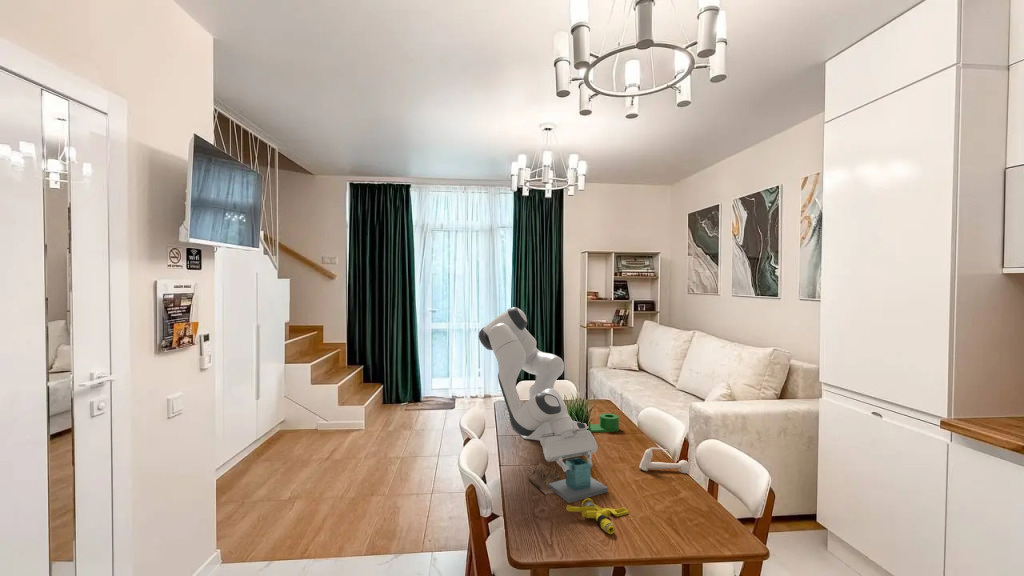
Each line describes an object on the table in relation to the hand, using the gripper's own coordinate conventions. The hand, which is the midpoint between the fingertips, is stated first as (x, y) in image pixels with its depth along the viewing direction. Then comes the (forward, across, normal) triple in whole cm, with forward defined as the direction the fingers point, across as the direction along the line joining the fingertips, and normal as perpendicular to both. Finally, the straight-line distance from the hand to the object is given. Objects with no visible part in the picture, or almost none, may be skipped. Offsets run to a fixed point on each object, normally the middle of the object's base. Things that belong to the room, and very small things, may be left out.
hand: (578, 468), depth 144 cm
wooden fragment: (-4, -6, +15) cm, 17 cm away
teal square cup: (+4, 0, +5) cm, 6 cm away
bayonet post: (+5, 0, +6) cm, 7 cm away
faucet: (+6, +38, +6) cm, 39 cm away
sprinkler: (+19, -4, -8) cm, 21 cm away
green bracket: (-29, +46, +41) cm, 68 cm away
